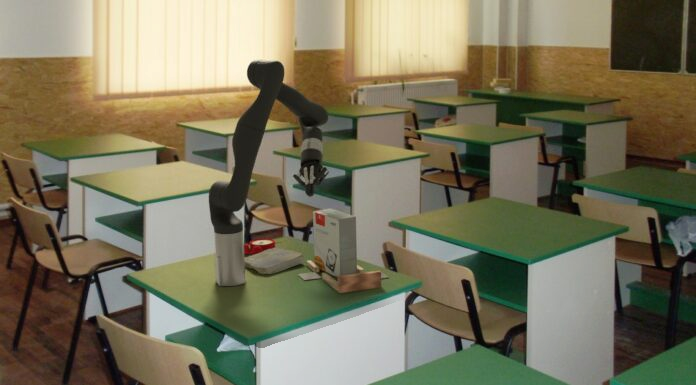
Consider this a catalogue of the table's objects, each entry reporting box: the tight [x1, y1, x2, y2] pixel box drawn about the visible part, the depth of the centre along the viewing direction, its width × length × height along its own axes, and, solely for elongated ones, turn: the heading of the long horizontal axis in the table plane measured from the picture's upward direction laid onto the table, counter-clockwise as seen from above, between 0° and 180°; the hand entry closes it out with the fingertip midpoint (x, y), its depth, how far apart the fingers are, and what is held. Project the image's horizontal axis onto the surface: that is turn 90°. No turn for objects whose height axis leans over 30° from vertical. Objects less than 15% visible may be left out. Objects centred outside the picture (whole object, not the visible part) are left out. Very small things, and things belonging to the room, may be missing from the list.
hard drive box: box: [312, 208, 358, 278], centre depth 276 cm, size 16×8×20 cm, turn 35°
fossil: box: [244, 246, 305, 275], centre depth 287 cm, size 20×5×17 cm
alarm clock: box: [244, 237, 282, 256], centre depth 302 cm, size 10×6×15 cm
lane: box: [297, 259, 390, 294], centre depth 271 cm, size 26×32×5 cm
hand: (310, 195), depth 275 cm, fingers closed
